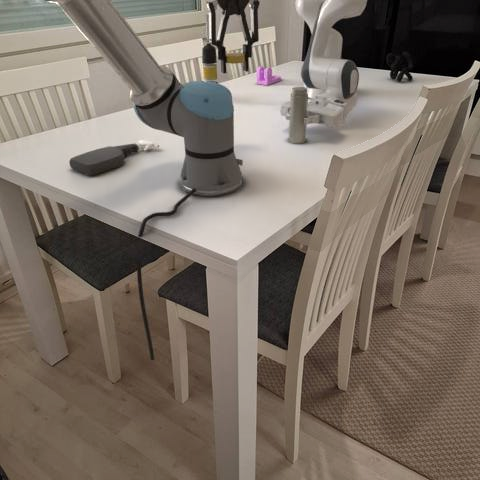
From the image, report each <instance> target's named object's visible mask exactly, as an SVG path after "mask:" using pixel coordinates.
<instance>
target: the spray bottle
mask: <svg viewBox="0 0 480 480" xmlns="http://www.w3.org/2000/svg"><path fill="white" fill-rule="evenodd" d="M159 148H160V145H159V144H158V143H155V142H151V141H148V140H144V139H139V140H138V141H137V142H135V143H129V144H128V143H126V144H122V145H113V146H105V147H100V148H97V149H94V150H90V151H87V152H83V153H81V154H78V155H74V156H73V157H70V159H69V161H68V162H69V167H70V168H71V169H72V170H74V171H75V172H78V173H81V174H83V175H85V176H89V177H90V176H91V177H92V176H95V175H99V174H102V173H105V172H107V171H110V170H113V169H116V168H118V167H120V166H122V165H123V164H124V163H125V158H126V156H127V155H131V154H133V153H138V151H140V150H143V151H144V152H146V151H147V150H149V149H159Z"/></svg>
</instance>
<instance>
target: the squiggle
mask: <svg viewBox="0 0 480 480" xmlns="http://www.w3.org/2000/svg"><path fill="white" fill-rule="evenodd" d="M401 57H402V59H401ZM391 59H392V60H391ZM393 60H394V61H393ZM385 61H386V64H387V67H390V68H391V70H390V72H389V78H390V79H391V80H395V79H396V81H397V82H399V83H400V82H402V81H403V79H404V76H406V78H407V80H408V81H412V80H413V79H414V77H413V75H412V74H411V73H410V72H409V71H410V70H412V69H413V68H414V64H413V61H412V57H411V54H410V53H409V52H408V51H403V53H402V54H401V55H396V54H394V53H392V52H390V53H387V55H386V57H385ZM406 62H407V65H408V66H407V67H405V66H404V65H405V64H406ZM400 70H401V71H400Z"/></svg>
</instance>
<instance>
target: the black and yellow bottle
mask: <svg viewBox="0 0 480 480" xmlns="http://www.w3.org/2000/svg"><path fill="white" fill-rule="evenodd" d="M204 18H205V27H206V29H205V30H206V31H205V33H206V39H207V40H206V42H207V43H206V45H204V46H202V49H201V50H202V51H201V52H202V54H201V55H202V57H201V58H202V61H201V63H202V71H203V72H202V73H203V74H202V75H203V81H206V82H214V83H218V84H219V82H218V81H216V80H218V64H216V63H218V61H217V47H216V46H215V45H212V44H211V43H210V42H209V14H204Z"/></svg>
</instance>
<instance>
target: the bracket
mask: <svg viewBox="0 0 480 480" xmlns="http://www.w3.org/2000/svg"><path fill="white" fill-rule="evenodd" d="M281 80H282V76H281V75H273V69H272V67H265V68H264V66H258V67H257V68H256V85H263V86H269V85H273V84H274V83H277V82H280V81H281Z"/></svg>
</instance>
